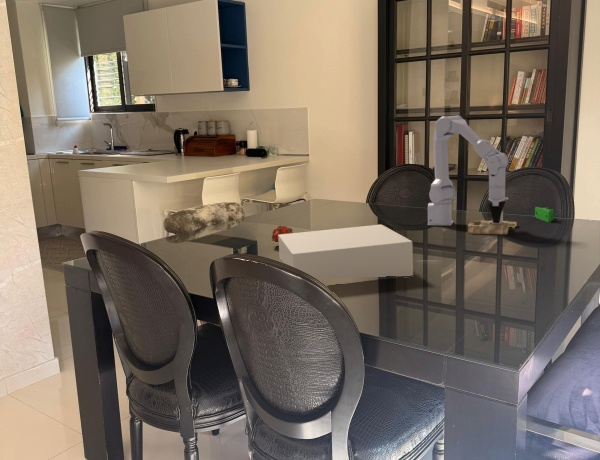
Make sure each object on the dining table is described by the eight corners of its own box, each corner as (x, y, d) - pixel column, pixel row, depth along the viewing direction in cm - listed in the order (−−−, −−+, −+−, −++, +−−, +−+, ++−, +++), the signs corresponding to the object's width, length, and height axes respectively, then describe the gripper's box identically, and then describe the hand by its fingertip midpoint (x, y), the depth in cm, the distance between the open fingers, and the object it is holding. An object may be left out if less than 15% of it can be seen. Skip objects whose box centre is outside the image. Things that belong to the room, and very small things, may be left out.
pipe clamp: (557, 222, 225) (557, 210, 224) (548, 223, 225) (548, 211, 224) (543, 217, 236) (543, 206, 235) (534, 217, 236) (535, 206, 235)
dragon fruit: (283, 246, 219) (288, 258, 207) (265, 236, 216) (268, 247, 205) (295, 228, 217) (300, 239, 206) (277, 217, 214) (281, 228, 203)
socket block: (467, 233, 214) (467, 225, 214) (470, 227, 223) (470, 220, 223) (507, 234, 209) (507, 226, 208) (508, 228, 218) (508, 221, 217)
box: (280, 267, 185) (277, 234, 183) (382, 255, 191) (381, 224, 189) (295, 291, 159) (292, 254, 157) (413, 277, 165) (412, 241, 162)
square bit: (491, 229, 214) (492, 211, 212) (492, 227, 217) (493, 209, 215) (501, 230, 212) (502, 211, 211) (502, 228, 216) (503, 210, 214)
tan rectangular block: (498, 228, 221) (499, 223, 221) (500, 226, 225) (500, 221, 224) (515, 228, 219) (515, 223, 218) (516, 226, 222) (516, 221, 222)
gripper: (507, 188, 203) (506, 225, 206) (509, 183, 216) (508, 218, 219) (486, 188, 206) (486, 225, 209) (489, 183, 219) (489, 217, 222)
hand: (496, 221), depth 214 cm, fingers closed on square bit, 3 cm apart
